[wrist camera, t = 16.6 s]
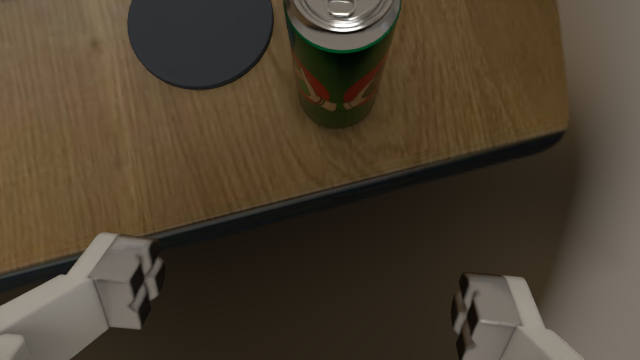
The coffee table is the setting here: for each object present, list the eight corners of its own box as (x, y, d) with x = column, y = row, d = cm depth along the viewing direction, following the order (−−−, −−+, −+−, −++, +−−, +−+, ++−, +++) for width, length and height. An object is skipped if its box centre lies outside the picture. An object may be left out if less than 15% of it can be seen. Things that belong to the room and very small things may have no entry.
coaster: (270, -46, 32) (269, -52, 31) (276, 84, 30) (276, 81, 29) (131, -37, 32) (128, -42, 31) (129, 94, 30) (125, 91, 29)
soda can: (376, 61, 30) (408, -71, 18) (373, 132, 29) (404, 43, 17) (302, 57, 30) (285, -76, 18) (296, 128, 29) (275, 36, 17)
